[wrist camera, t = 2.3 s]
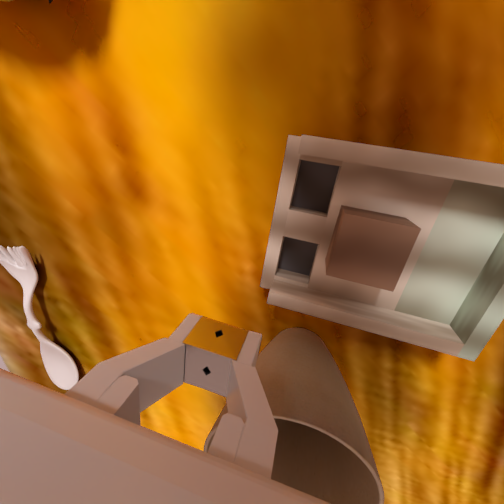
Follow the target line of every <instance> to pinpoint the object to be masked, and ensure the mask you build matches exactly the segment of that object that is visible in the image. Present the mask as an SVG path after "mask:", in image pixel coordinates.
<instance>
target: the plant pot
mask: <svg viewBox="0 0 504 504" xmlns="http://www.w3.org/2000/svg"><path fill="white" fill-rule="evenodd" d="M255 367H256V370H257V373H258V376H259V379H260V381H261V384H262V387H263V390H264V392H265V395H266V398H267V401H268V404H269V406H270V409H271V412H272V415H273V417H274V420H275V423H276V426H277V428H278V435H277V442H276V448H275V455H274V461H273V467H272V474H271V479H272V480H275V481H277V482H279V483H282V484H284V485H287V486H289V487H292V488H294V489H297V490H299V491H301V492H304V493H306V494H309V495H311V496H314V497H316V498H319V499H321V500H323V501H326V502H328V503H331V504H384V491H383V487H382V484H381V481H380V477H379V474H378V471H377V468H376V464H375V461H374V458H373V455H372V452H371V449H370V446H369V443H368V440H367V437H366V433H365V430H364V428H363V425H362V422H361V419H360V416H359V414H358V411H357V409H356V406H355V404H354V401H353V399H352V397H351V394H350V392H349V390H348V387H347V385H346V383H345V381H344V379H343V376H342V374H341V372H340V370H339V368H338V366H337V364H336V363H335V361H334V359H333V357H332V355H331V354H330V352H329V350H328V349H327V347H326V345H325V344H324V342H323V341H322V339H321V338H320V337H319V336H318V335H316V334H315V333H313V332H312V331H310V330H307V329H304V328H298V327H297V328H288V329H285V330H283V331H281V332H280V333H279V334H278V335H277V336H275V337H274V338H273V339H272V341H271V342H270V343H269V344H268V345H267V346H266V347H265V348H264V349H263V350H262V351H261V353H260V354H259V355H258V358H257V362H256V366H255ZM226 413H228V409H227V403H226V405H225V406H224V408H223V410H222V412H221V413H220V415H219V417H218V419H217V421H216V422H215V424H214V426H213V428H212V430H211V432H210V433H209V435H208V437H207V439H206V441H205V445H204V452H206V453H208V450H209V448H210V445H211V443H212V440H213V438H214V435H215V433H216V430H217V428H218V425H219V423H220V420H221V418H222V415H224V414H226Z"/></svg>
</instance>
